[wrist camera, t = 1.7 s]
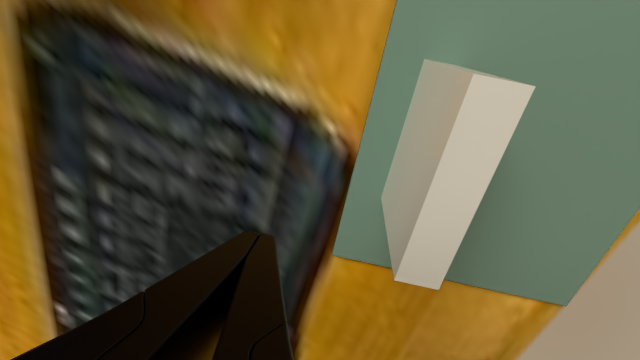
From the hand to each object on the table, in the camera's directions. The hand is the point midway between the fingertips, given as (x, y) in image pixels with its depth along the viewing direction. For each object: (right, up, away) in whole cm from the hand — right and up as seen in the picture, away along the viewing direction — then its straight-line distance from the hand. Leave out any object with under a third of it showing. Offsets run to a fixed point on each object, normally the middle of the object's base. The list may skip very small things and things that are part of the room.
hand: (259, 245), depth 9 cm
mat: (+12, +3, +8) cm, 15 cm away
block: (+7, +4, +8) cm, 11 cm away
